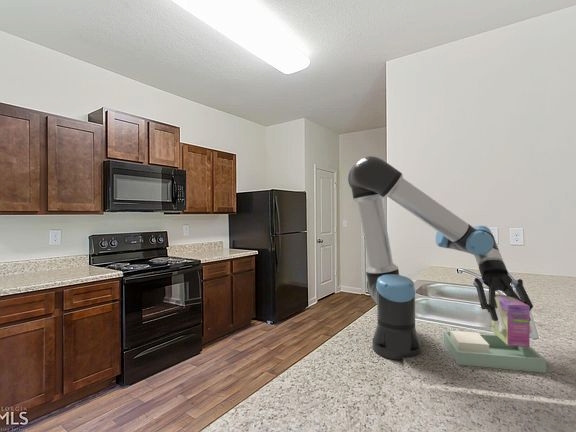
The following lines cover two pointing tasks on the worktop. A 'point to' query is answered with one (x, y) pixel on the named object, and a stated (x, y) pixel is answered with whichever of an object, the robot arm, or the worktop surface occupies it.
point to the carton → (469, 342)
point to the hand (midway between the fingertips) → (515, 331)
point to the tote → (498, 355)
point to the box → (513, 321)
